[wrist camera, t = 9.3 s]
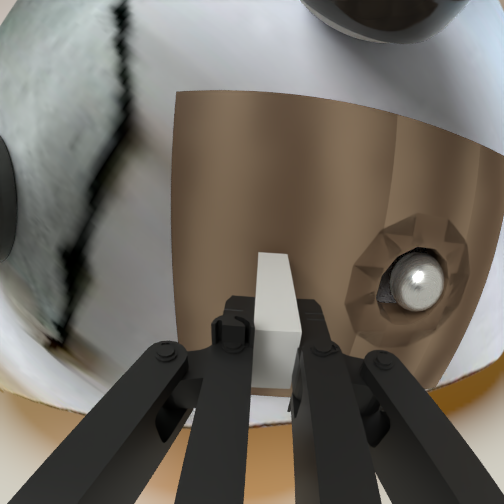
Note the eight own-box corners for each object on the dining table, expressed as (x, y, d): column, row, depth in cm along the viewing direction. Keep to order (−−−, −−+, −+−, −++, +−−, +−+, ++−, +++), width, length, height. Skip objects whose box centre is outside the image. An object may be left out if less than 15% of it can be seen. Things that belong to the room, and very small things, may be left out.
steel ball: (380, 289, 19) (387, 318, 16) (393, 239, 18) (405, 260, 14) (425, 296, 18) (438, 326, 15) (440, 249, 17) (460, 271, 13)
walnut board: (192, 361, 22) (183, 385, 19) (191, 101, 15) (176, 91, 12) (423, 366, 21) (435, 387, 18) (486, 155, 14) (510, 159, 11)
